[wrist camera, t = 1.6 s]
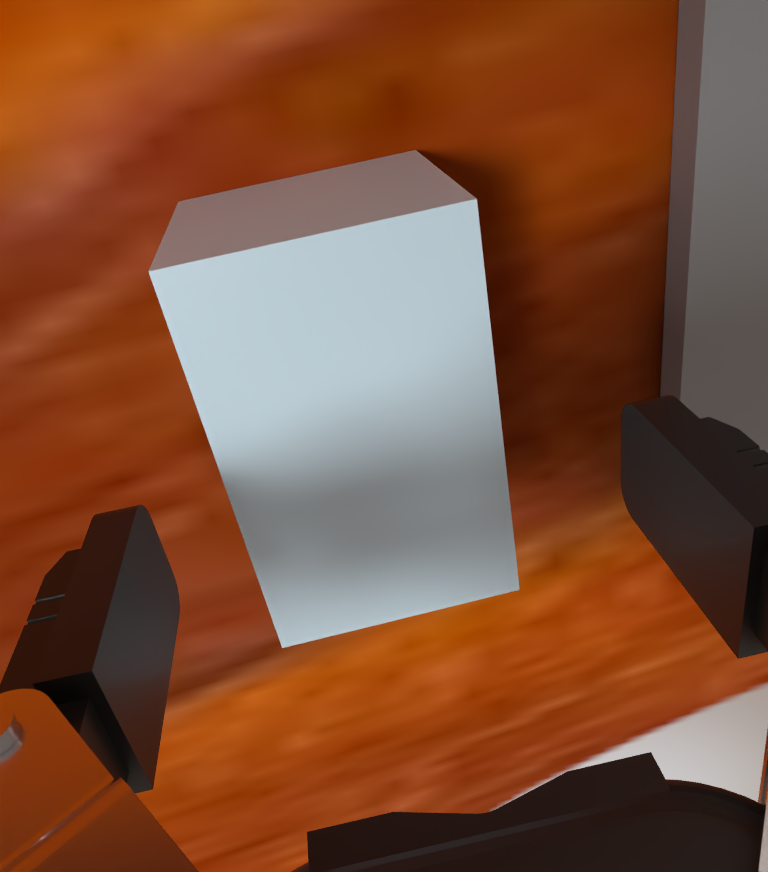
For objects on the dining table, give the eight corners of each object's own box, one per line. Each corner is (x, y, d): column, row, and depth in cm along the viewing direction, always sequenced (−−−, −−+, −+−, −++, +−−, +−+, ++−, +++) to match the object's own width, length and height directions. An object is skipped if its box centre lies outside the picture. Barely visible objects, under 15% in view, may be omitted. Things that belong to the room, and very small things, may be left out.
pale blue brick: (178, 199, 15) (149, 271, 11) (414, 148, 15) (477, 198, 11) (276, 507, 19) (282, 647, 15) (460, 463, 19) (519, 590, 15)
